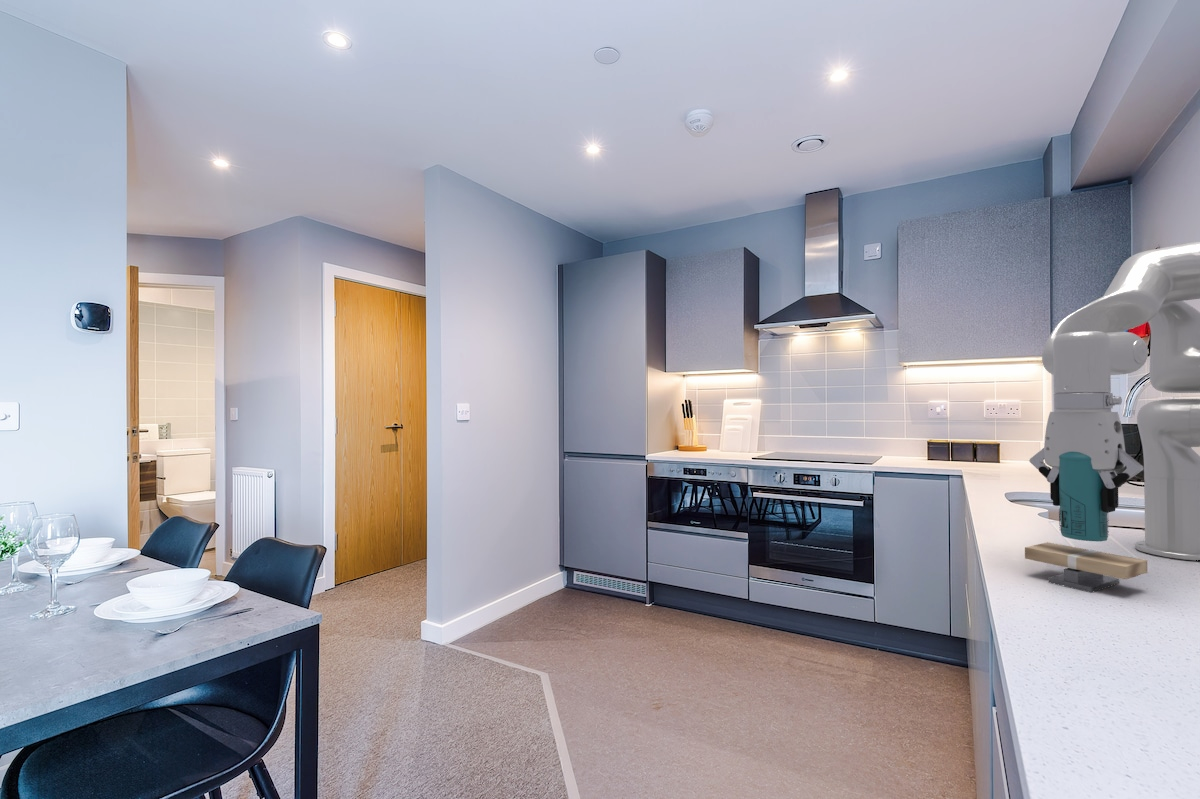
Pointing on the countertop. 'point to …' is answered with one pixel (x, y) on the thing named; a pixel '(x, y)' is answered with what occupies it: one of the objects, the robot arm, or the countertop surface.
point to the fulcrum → (1083, 580)
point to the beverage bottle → (1081, 499)
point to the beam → (1087, 560)
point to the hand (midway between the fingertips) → (1083, 507)
